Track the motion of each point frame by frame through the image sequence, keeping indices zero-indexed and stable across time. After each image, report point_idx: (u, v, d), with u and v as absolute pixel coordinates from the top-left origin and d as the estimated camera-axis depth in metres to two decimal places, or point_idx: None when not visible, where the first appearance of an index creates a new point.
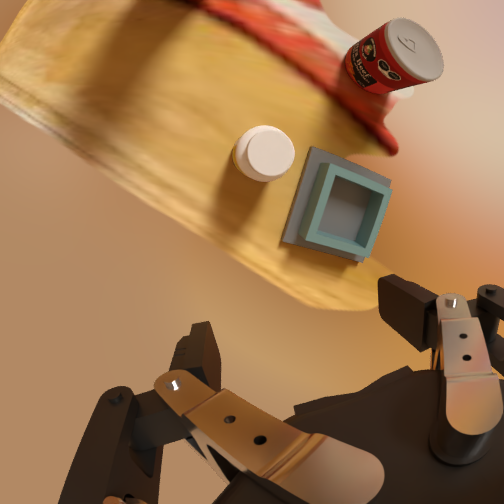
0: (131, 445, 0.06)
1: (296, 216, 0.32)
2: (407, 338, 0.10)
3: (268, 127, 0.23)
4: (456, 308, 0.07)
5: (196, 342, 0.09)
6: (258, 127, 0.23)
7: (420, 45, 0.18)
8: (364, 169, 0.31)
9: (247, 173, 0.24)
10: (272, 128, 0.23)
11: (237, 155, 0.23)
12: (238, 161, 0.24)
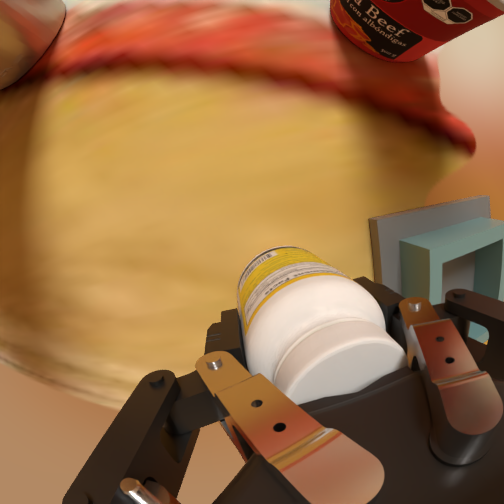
0: (166, 428, 0.07)
1: None
2: None
3: (302, 298, 0.08)
4: (418, 312, 0.08)
5: (229, 327, 0.10)
6: (276, 312, 0.08)
7: None
8: (458, 205, 0.15)
9: None
10: (314, 295, 0.08)
11: None
12: None
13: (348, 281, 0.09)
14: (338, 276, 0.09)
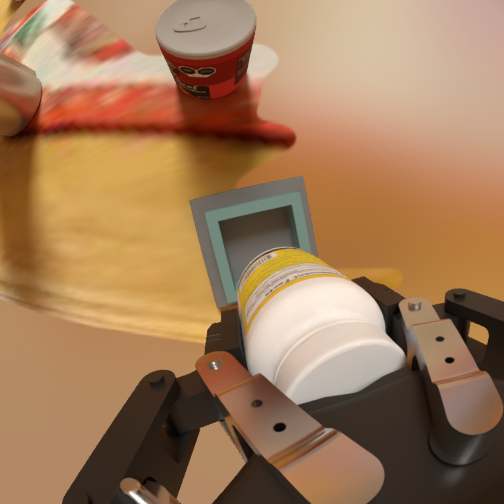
0: (166, 428, 0.07)
1: (215, 278, 0.29)
2: None
3: (302, 300, 0.08)
4: (417, 312, 0.08)
5: (229, 327, 0.10)
6: (276, 313, 0.08)
7: (209, 13, 0.15)
8: (261, 186, 0.28)
9: None
10: (314, 296, 0.08)
11: None
12: None
13: (348, 283, 0.09)
14: (338, 278, 0.09)
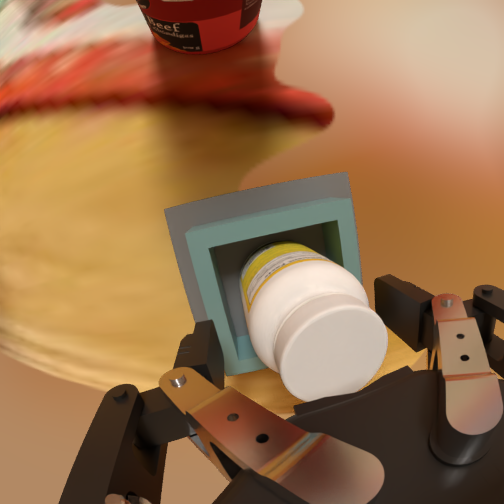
0: (135, 443, 0.06)
1: None
2: (403, 338, 0.10)
3: (295, 278, 0.10)
4: (451, 308, 0.07)
5: (200, 340, 0.10)
6: (274, 290, 0.10)
7: None
8: (282, 186, 0.17)
9: None
10: (305, 275, 0.10)
11: (262, 361, 0.11)
12: (270, 368, 0.11)
13: (334, 265, 0.11)
14: (326, 261, 0.11)
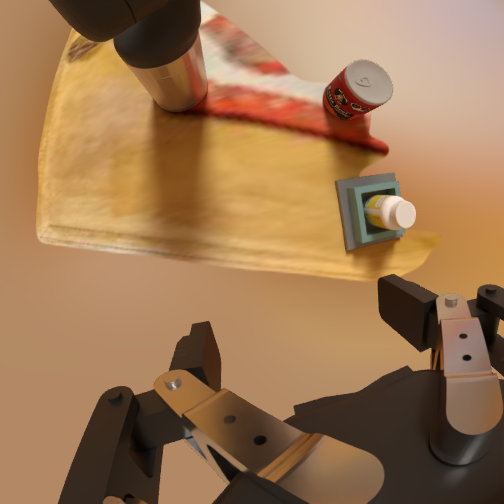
0: (131, 445, 0.06)
1: (348, 230, 0.45)
2: (407, 338, 0.10)
3: (392, 198, 0.37)
4: (456, 308, 0.07)
5: (196, 342, 0.09)
6: (388, 201, 0.37)
7: (371, 76, 0.30)
8: (374, 176, 0.43)
9: (393, 229, 0.38)
10: (394, 197, 0.37)
11: (385, 222, 0.37)
12: (386, 225, 0.38)
13: None
14: (397, 196, 0.37)
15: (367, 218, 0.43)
